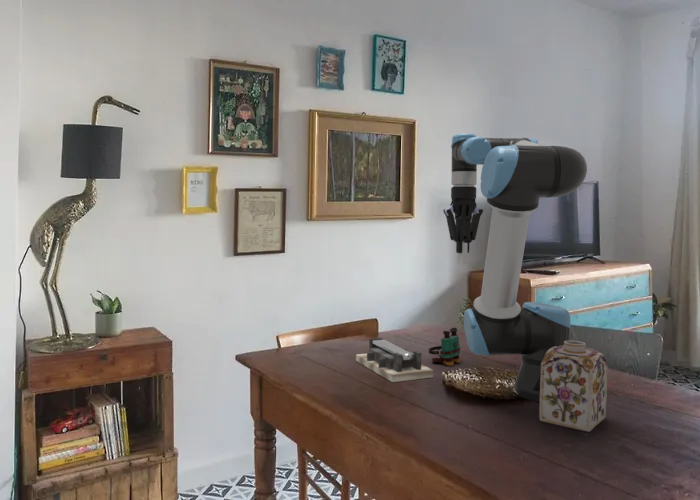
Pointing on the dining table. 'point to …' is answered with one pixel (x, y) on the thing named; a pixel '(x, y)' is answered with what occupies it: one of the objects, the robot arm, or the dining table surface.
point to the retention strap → (394, 349)
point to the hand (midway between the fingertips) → (462, 263)
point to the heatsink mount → (393, 364)
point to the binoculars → (448, 348)
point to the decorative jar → (573, 386)
